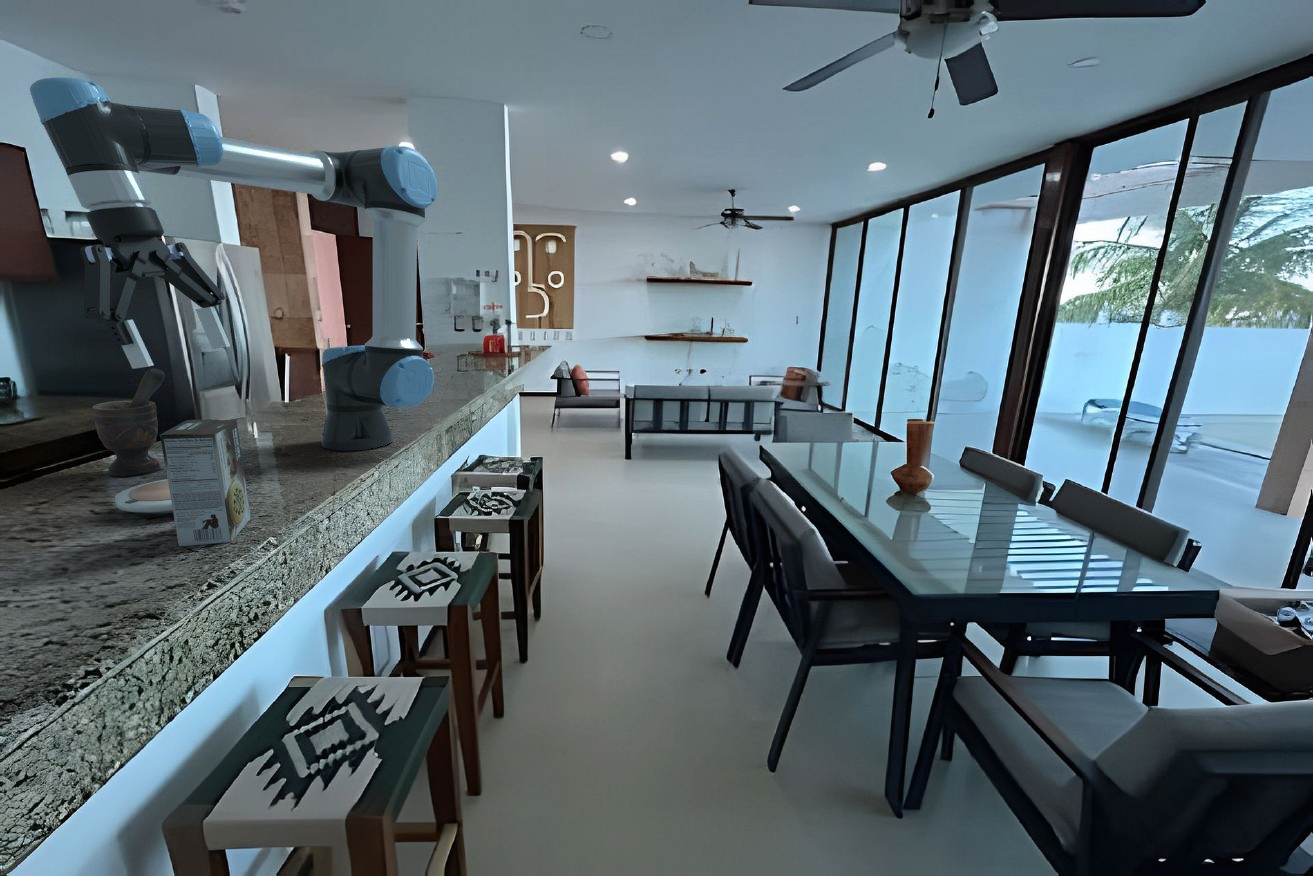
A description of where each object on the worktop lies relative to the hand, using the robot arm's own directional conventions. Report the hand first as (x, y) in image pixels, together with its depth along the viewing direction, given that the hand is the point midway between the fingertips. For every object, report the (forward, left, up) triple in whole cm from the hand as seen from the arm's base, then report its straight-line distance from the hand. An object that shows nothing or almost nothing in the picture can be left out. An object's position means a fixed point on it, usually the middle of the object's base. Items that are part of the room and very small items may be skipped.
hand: (185, 356), depth 85 cm
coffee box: (+8, +11, -25) cm, 28 cm away
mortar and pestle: (-10, -27, -25) cm, 38 cm away
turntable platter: (+2, -4, -23) cm, 23 cm away
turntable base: (+2, -4, -24) cm, 25 cm away
